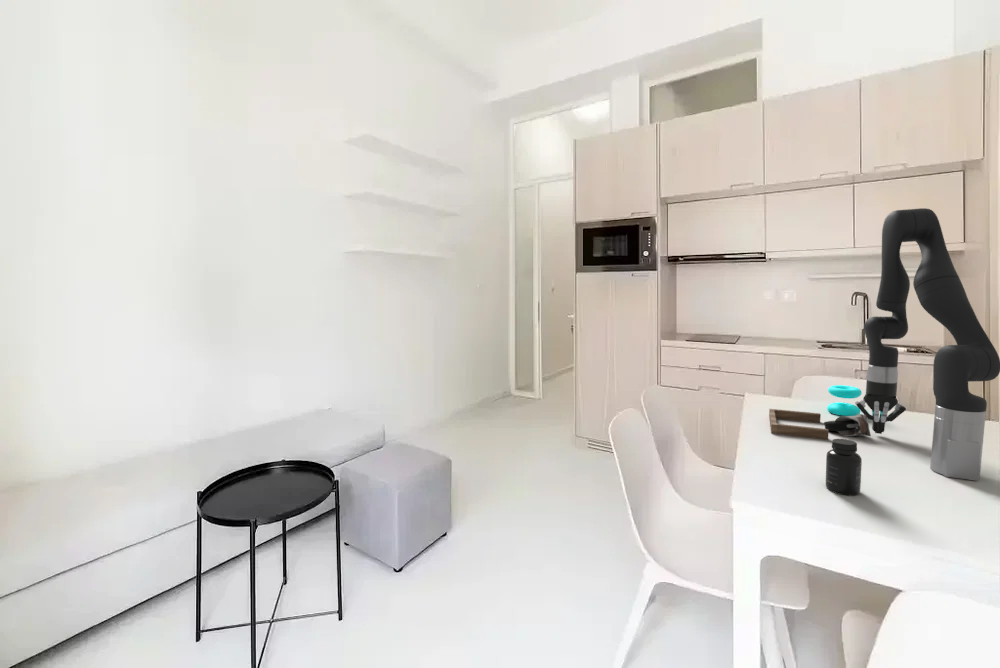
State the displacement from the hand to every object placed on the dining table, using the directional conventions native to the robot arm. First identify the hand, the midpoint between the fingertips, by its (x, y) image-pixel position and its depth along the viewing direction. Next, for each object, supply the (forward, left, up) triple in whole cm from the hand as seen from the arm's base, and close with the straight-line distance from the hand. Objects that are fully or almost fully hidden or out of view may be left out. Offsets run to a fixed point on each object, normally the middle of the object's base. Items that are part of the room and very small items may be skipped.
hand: (878, 432), depth 150 cm
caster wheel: (-1, +9, -1) cm, 9 cm away
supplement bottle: (-51, +16, -1) cm, 54 cm away
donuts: (+26, +5, -1) cm, 26 cm away
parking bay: (0, +21, -1) cm, 21 cm away
